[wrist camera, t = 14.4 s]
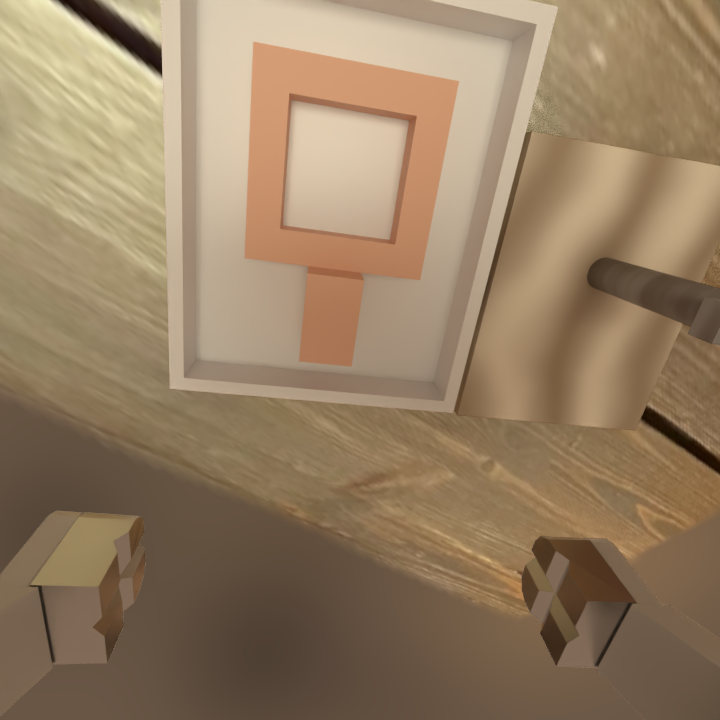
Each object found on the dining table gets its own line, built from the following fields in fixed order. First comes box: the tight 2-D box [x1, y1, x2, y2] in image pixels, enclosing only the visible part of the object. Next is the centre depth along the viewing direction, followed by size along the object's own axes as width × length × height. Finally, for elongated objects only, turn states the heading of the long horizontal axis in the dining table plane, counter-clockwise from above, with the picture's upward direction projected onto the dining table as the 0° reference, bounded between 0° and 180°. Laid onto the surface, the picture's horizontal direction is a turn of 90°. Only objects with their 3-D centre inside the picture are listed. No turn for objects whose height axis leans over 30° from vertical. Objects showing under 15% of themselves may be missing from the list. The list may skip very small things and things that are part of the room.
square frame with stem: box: [245, 42, 459, 367], centre depth 23 cm, size 10×15×4 cm, turn 172°
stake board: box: [454, 131, 720, 430], centre depth 24 cm, size 14×18×13 cm
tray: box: [161, 0, 558, 413], centre depth 24 cm, size 18×22×4 cm
